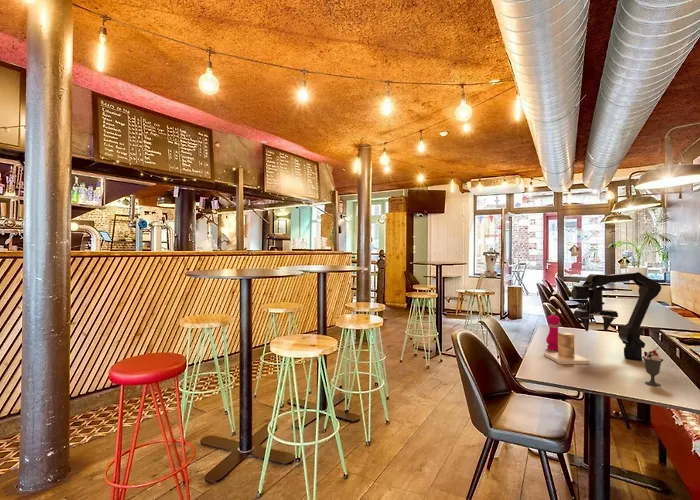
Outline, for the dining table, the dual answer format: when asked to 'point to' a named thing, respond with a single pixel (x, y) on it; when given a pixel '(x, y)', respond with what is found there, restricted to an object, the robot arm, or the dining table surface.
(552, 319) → the pepper mill
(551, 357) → the plate
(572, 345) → the oak block
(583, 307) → the robot arm
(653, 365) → the sundae
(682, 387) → the dining table surface
